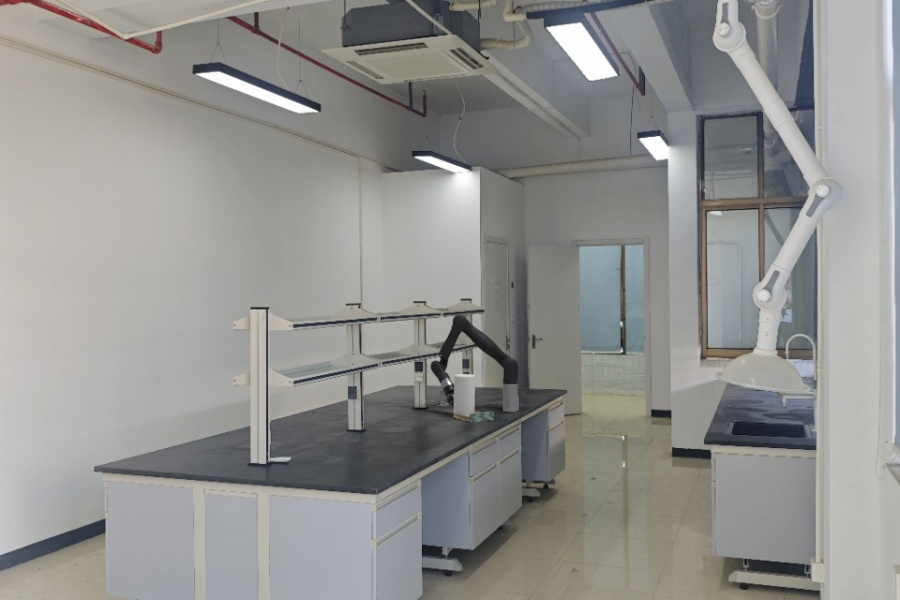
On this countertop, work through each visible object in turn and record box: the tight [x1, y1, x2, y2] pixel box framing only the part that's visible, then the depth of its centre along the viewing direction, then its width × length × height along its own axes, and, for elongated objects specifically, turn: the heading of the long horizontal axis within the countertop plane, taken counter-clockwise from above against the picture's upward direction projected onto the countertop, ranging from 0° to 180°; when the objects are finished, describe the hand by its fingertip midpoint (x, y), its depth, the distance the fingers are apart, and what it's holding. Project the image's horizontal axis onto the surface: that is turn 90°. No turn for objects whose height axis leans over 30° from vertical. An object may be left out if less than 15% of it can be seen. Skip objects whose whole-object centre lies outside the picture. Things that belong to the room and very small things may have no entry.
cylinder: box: [453, 373, 476, 417], centre depth 466 cm, size 12×12×25 cm
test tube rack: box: [436, 382, 454, 407], centre depth 517 cm, size 25×4×13 cm, turn 156°
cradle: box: [453, 410, 495, 424], centre depth 458 cm, size 16×18×5 cm
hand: (459, 409), depth 470 cm, fingers closed
